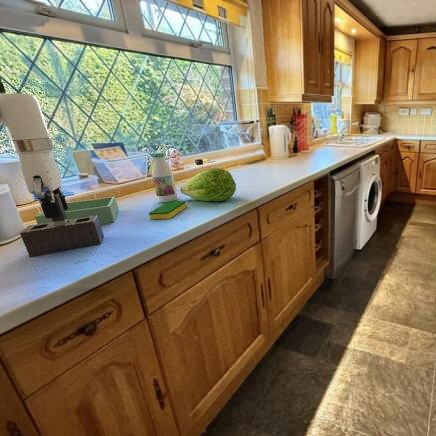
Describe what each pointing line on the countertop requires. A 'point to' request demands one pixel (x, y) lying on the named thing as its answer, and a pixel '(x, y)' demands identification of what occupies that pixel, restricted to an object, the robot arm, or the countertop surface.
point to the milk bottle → (163, 179)
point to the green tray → (88, 210)
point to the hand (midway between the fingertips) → (57, 213)
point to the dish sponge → (167, 210)
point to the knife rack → (62, 236)
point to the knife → (62, 218)
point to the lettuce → (210, 185)
